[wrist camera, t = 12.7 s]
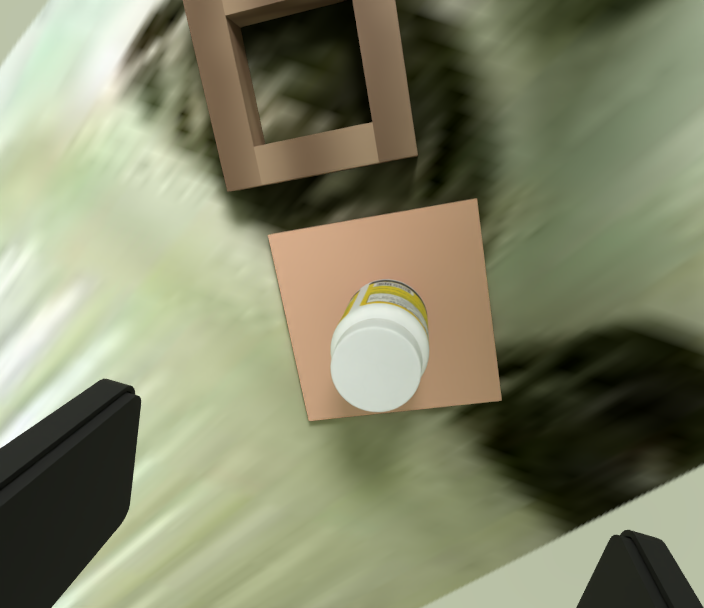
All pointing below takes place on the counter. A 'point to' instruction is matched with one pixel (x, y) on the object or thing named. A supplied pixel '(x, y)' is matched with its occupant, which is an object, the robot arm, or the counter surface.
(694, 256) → the counter surface
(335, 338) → the supplement bottle
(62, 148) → the counter surface
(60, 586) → the robot arm
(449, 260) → the terracotta coaster
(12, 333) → the counter surface
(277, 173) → the walnut cup holder
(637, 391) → the counter surface
